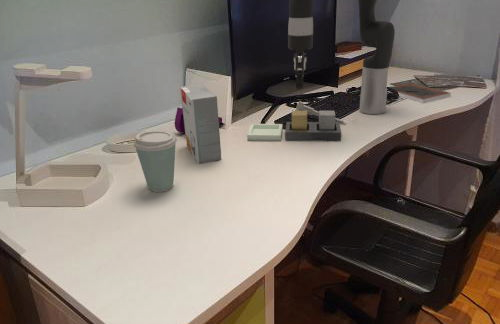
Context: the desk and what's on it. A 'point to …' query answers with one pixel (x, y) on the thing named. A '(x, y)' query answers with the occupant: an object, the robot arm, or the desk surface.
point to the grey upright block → (326, 120)
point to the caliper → (313, 111)
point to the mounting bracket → (180, 121)
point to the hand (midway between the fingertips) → (299, 85)
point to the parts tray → (265, 132)
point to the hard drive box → (201, 122)
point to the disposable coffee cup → (157, 158)
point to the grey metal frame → (312, 133)
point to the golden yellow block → (299, 120)
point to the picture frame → (420, 93)
